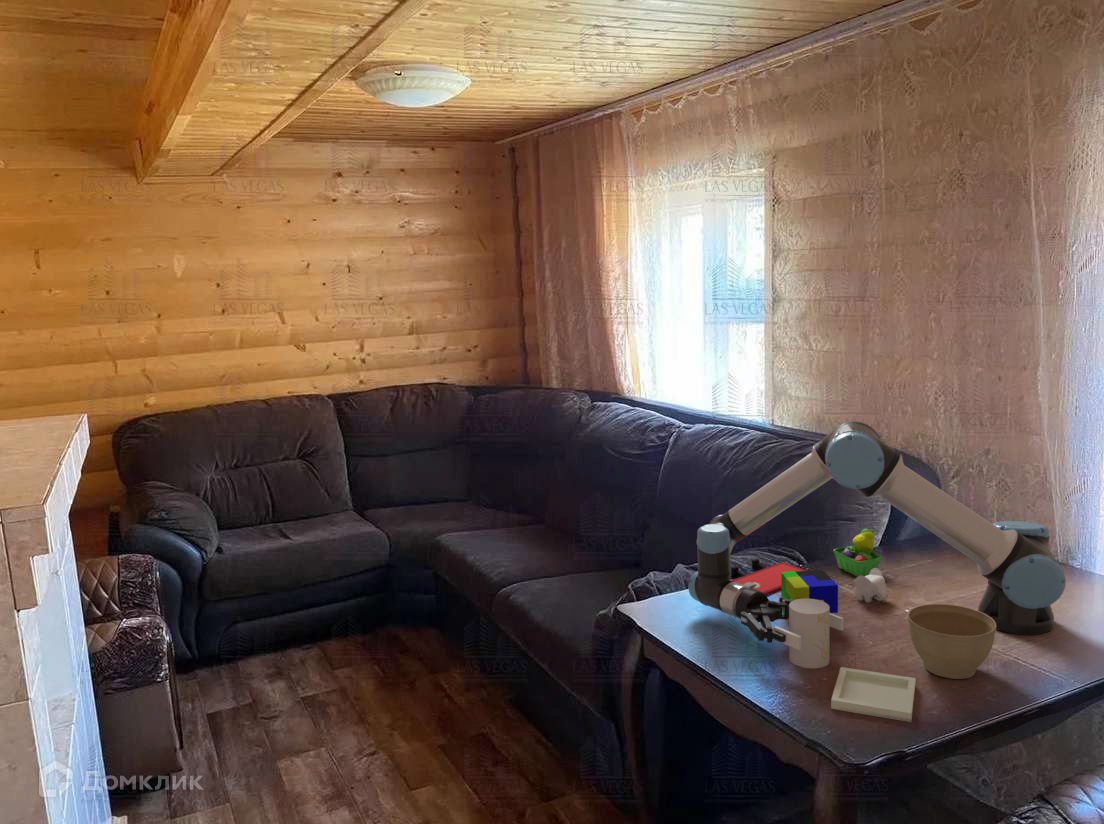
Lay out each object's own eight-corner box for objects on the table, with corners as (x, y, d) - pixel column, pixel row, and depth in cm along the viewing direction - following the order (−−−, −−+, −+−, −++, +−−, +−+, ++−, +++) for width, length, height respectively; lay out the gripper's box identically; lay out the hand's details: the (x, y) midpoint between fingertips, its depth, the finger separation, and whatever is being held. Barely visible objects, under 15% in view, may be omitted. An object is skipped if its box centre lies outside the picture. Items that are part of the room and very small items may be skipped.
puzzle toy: (837, 626, 196) (838, 585, 195) (794, 629, 196) (794, 588, 194) (822, 609, 206) (822, 569, 205) (781, 611, 206) (781, 572, 204)
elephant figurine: (882, 609, 204) (882, 581, 203) (845, 599, 211) (845, 571, 210) (897, 600, 209) (898, 572, 208) (861, 590, 216) (861, 563, 215)
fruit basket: (831, 566, 233) (831, 527, 231) (859, 561, 236) (859, 522, 234) (858, 580, 222) (858, 539, 220) (886, 575, 225) (887, 534, 223)
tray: (915, 686, 168) (915, 678, 167) (911, 722, 155) (911, 713, 155) (840, 675, 174) (840, 667, 173) (831, 708, 161) (831, 699, 161)
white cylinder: (823, 671, 176) (823, 616, 174) (784, 663, 180) (784, 609, 178) (833, 655, 182) (833, 602, 180) (795, 648, 187) (795, 596, 185)
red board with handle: (695, 590, 222) (740, 608, 210) (695, 580, 222) (740, 597, 210) (770, 563, 240) (815, 578, 228) (770, 553, 239) (816, 568, 227)
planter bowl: (1006, 689, 165) (1008, 637, 163) (917, 687, 168) (918, 635, 166) (979, 652, 180) (981, 603, 178) (899, 650, 183) (900, 602, 181)
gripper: (782, 604, 202) (859, 633, 185) (705, 634, 189) (781, 668, 171) (781, 574, 201) (859, 600, 184) (705, 602, 187) (781, 633, 170)
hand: (821, 633), depth 177 cm, fingers open, 13 cm apart
